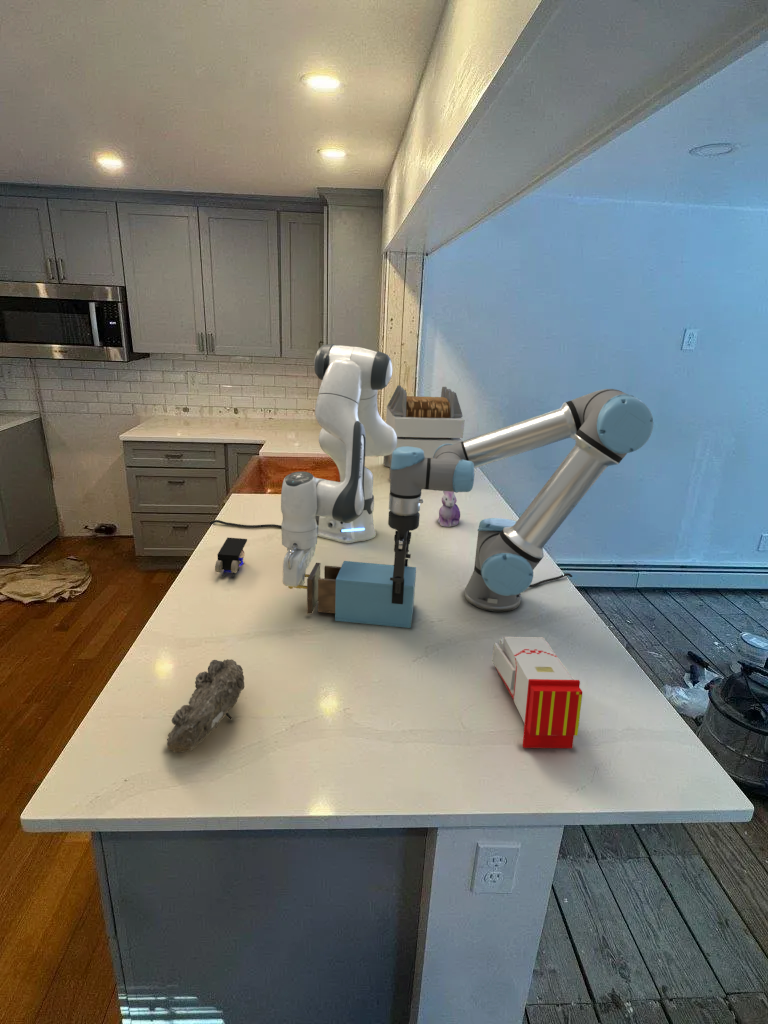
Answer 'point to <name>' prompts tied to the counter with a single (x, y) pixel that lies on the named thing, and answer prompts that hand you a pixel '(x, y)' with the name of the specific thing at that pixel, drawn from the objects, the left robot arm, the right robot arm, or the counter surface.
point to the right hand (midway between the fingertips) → (399, 592)
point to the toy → (539, 691)
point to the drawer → (321, 589)
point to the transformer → (424, 421)
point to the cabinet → (373, 595)
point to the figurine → (449, 510)
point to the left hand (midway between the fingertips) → (300, 586)
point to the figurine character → (230, 556)
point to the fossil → (206, 705)
